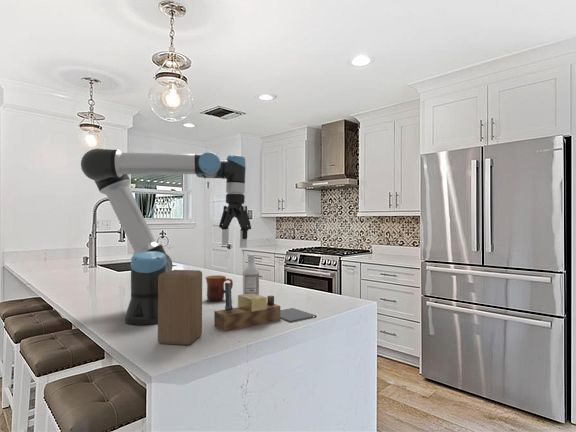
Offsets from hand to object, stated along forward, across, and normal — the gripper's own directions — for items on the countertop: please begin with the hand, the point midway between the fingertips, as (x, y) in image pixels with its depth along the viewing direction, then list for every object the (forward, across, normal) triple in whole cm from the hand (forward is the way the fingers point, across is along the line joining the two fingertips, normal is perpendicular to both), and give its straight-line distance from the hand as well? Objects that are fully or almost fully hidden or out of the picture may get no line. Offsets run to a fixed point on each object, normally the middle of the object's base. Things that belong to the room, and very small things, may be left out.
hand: (233, 246), depth 150 cm
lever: (+18, -23, +16) cm, 33 cm away
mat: (+24, -25, -10) cm, 36 cm away
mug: (+25, +14, -2) cm, 29 cm away
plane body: (+24, -23, +8) cm, 35 cm away
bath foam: (+24, +7, -14) cm, 29 cm away
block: (+25, -25, +33) cm, 48 cm away
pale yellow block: (+19, -23, +6) cm, 31 cm away
